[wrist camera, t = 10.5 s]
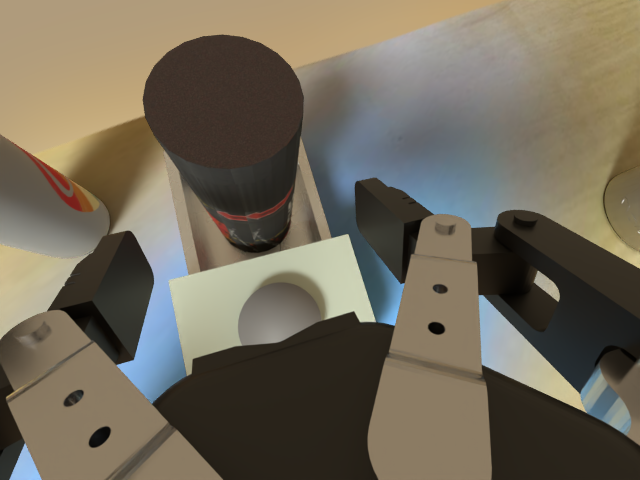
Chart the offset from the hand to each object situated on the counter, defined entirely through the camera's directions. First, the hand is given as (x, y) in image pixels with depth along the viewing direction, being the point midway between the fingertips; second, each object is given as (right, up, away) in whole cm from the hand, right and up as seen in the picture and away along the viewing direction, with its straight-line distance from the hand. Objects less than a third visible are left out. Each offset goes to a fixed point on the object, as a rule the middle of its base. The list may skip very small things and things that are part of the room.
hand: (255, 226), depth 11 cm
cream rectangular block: (-1, -7, +14) cm, 16 cm away
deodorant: (-3, +1, +15) cm, 15 cm away
